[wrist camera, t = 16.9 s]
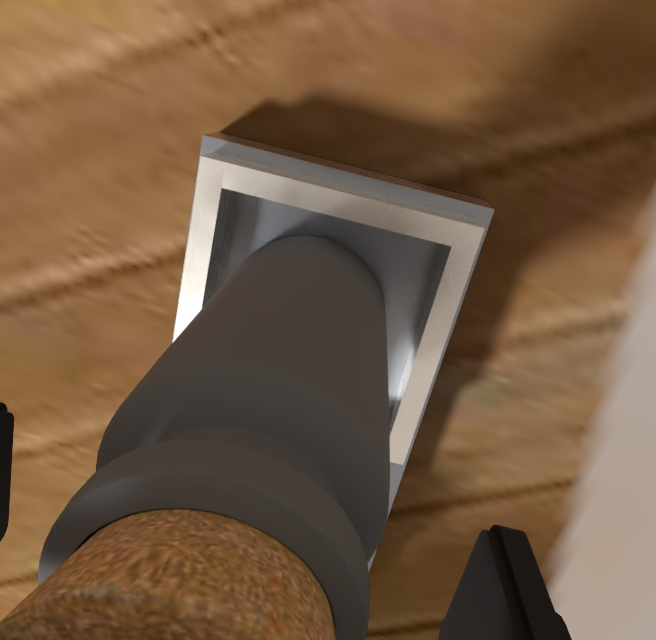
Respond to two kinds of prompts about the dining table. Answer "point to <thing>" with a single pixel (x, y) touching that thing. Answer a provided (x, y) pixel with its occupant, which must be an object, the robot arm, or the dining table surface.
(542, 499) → the dining table surface
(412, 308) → the panel
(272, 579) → the bottle
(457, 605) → the robot arm
